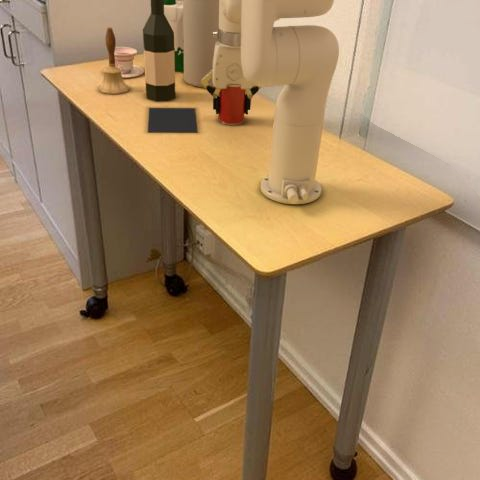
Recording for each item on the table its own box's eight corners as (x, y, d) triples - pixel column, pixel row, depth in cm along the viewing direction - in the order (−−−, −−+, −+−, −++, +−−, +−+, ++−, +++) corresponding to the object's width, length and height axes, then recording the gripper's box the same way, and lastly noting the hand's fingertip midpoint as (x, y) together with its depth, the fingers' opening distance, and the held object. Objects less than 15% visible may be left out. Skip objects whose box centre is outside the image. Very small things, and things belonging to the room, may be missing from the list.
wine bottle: (181, 98, 160) (179, -26, 141) (154, 103, 156) (148, -24, 137) (166, 89, 165) (163, -32, 146) (140, 93, 161) (132, -30, 142)
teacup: (152, 71, 177) (151, 50, 173) (126, 81, 169) (124, 59, 165) (122, 63, 181) (120, 42, 177) (95, 73, 173) (92, 51, 169)
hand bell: (126, 83, 167) (121, 23, 157) (131, 93, 161) (127, 31, 151) (96, 85, 165) (90, 24, 155) (101, 95, 159) (94, 32, 149)
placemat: (197, 132, 143) (197, 132, 142) (147, 132, 141) (147, 132, 141) (194, 108, 155) (194, 108, 155) (149, 108, 154) (149, 107, 153)
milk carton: (167, 62, 184) (165, -9, 172) (195, 65, 183) (194, -6, 171) (158, 70, 178) (155, -3, 165) (187, 74, 177) (186, 0, 164)
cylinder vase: (190, 72, 178) (190, -21, 162) (230, 77, 176) (233, -16, 160) (178, 85, 168) (177, -12, 152) (220, 90, 167) (223, -7, 151)
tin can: (245, 125, 147) (247, 85, 141) (219, 125, 147) (220, 84, 140) (242, 115, 153) (244, 76, 146) (217, 115, 152) (218, 76, 146)
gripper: (198, 41, 133) (198, 117, 145) (273, 42, 135) (267, 118, 146) (196, 32, 139) (196, 106, 150) (268, 34, 141) (263, 107, 152)
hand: (231, 111), depth 148 cm, fingers closed on tin can, 6 cm apart
